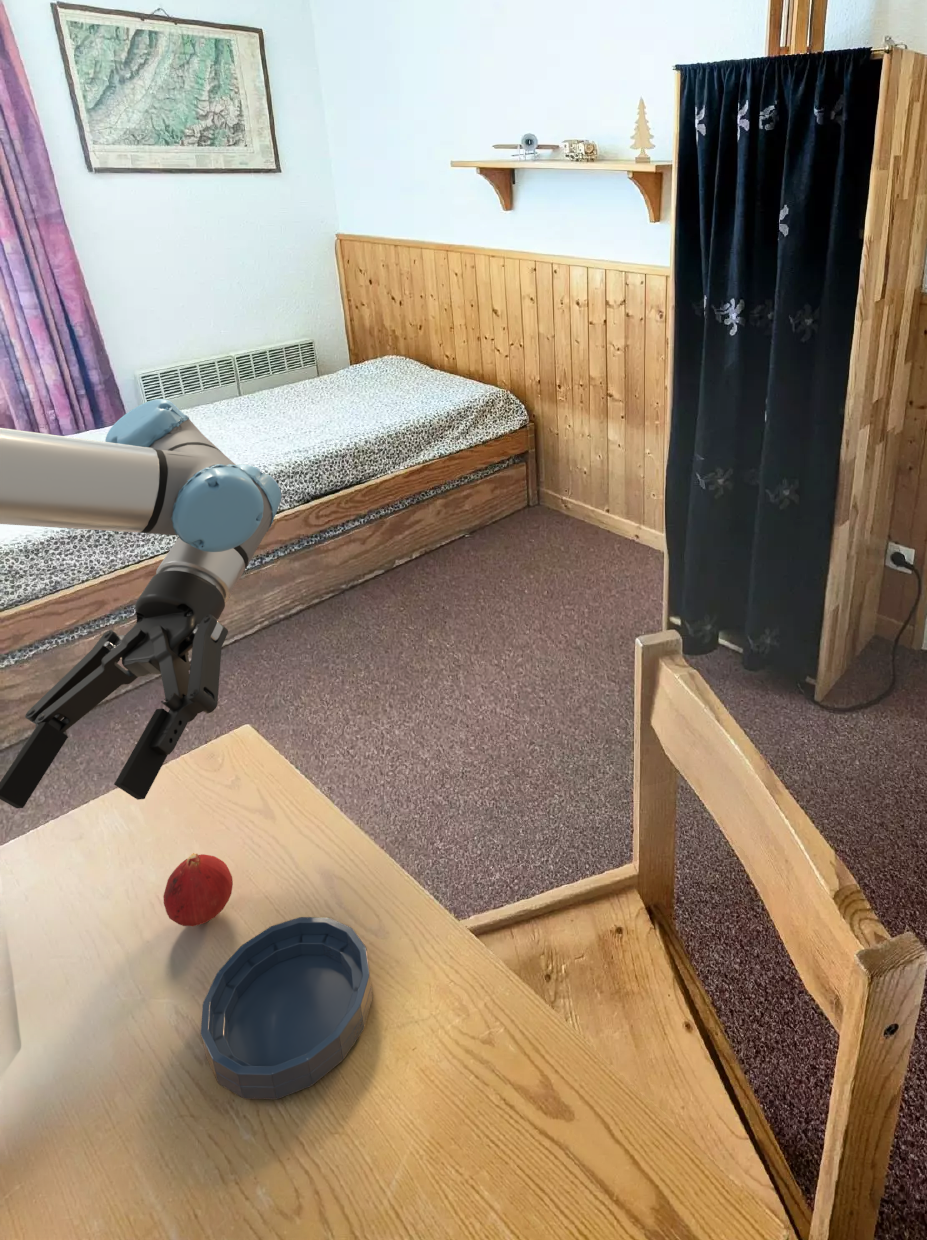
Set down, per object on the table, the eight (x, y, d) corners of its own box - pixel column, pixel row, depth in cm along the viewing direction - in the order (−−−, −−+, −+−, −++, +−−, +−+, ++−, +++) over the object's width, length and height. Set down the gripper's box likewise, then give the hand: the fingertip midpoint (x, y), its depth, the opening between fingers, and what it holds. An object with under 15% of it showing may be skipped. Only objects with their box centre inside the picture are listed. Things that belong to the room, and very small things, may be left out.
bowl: (177, 1102, 62) (169, 1072, 60) (249, 942, 74) (244, 915, 73) (344, 1105, 61) (340, 1075, 60) (389, 944, 74) (386, 917, 73)
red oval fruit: (179, 958, 72) (163, 895, 70) (165, 914, 77) (149, 852, 74) (245, 922, 76) (232, 860, 73) (227, 881, 80) (215, 821, 77)
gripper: (311, 596, 79) (215, 808, 63) (123, 625, 86) (-5, 823, 71) (268, 548, 75) (152, 764, 59) (73, 584, 82) (-76, 785, 66)
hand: (66, 797), depth 65 cm, fingers open, 13 cm apart
